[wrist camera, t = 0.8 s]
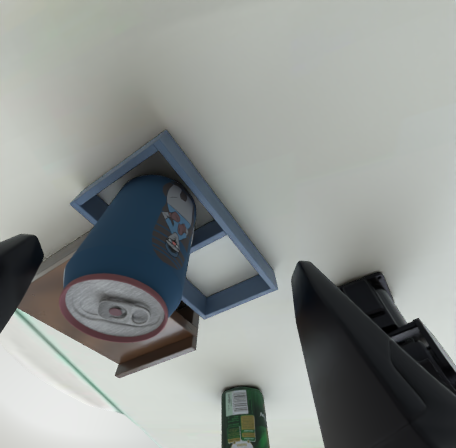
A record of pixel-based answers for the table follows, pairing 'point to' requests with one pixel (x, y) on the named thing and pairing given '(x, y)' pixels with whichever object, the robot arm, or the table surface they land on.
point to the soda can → (132, 263)
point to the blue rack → (203, 236)
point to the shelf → (118, 352)
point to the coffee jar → (244, 419)
